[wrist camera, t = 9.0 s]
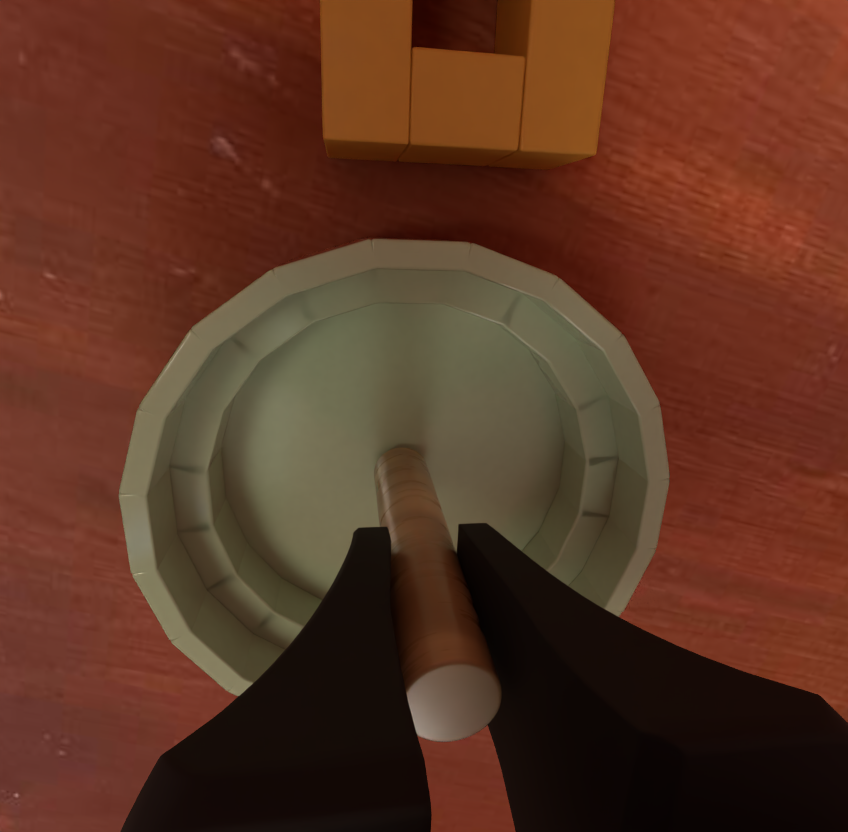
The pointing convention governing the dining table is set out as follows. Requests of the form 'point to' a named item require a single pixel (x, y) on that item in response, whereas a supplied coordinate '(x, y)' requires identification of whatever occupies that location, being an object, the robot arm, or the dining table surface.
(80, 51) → the dining table surface
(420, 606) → the stick
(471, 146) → the stand
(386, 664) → the robot arm
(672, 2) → the dining table surface
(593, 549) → the bowl
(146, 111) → the dining table surface
